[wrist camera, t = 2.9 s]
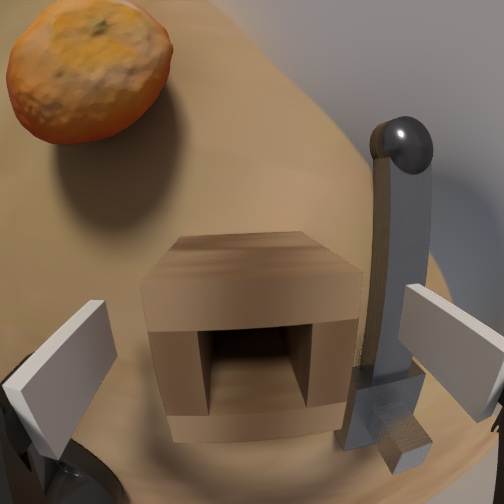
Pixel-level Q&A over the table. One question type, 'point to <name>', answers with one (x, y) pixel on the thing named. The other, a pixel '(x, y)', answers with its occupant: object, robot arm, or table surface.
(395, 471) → the grey lever handle
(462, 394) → the robot arm
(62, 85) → the fruit
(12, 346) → the table surface
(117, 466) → the table surface
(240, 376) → the socket collar
